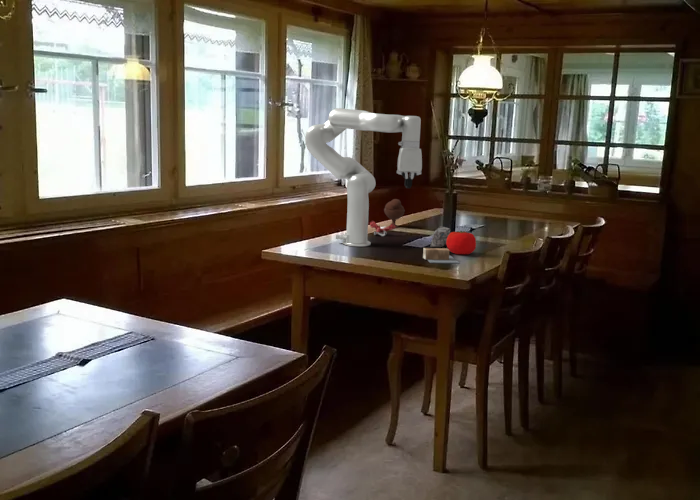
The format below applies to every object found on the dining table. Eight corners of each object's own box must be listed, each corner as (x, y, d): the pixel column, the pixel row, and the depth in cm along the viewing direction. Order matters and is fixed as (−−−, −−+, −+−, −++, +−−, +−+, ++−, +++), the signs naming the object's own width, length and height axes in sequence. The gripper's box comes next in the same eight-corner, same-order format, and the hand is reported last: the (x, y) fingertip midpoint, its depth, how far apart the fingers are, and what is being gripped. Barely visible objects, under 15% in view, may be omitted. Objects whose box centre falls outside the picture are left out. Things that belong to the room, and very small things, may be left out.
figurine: (360, 234, 356) (361, 221, 355) (372, 231, 366) (373, 218, 365) (388, 238, 348) (388, 224, 347) (399, 235, 358) (400, 222, 357)
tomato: (475, 257, 313) (476, 233, 311) (445, 255, 315) (446, 231, 313) (475, 252, 323) (477, 229, 321) (446, 250, 325) (447, 227, 323)
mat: (430, 263, 297) (430, 262, 297) (422, 255, 311) (422, 255, 311) (459, 263, 299) (459, 262, 299) (450, 256, 312) (450, 255, 312)
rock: (437, 248, 326) (441, 226, 326) (421, 245, 331) (425, 223, 330) (453, 250, 340) (456, 228, 339) (437, 247, 344) (440, 226, 343)
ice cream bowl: (407, 227, 384) (409, 198, 381) (397, 229, 375) (398, 200, 372) (389, 225, 389) (391, 196, 386) (379, 227, 380) (380, 198, 377)
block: (425, 249, 301) (449, 250, 302) (423, 247, 305) (447, 248, 306) (425, 259, 302) (448, 259, 303) (422, 257, 306) (446, 257, 307)
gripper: (394, 145, 310) (392, 188, 314) (429, 146, 312) (426, 189, 316) (391, 144, 318) (389, 186, 321) (425, 145, 320) (423, 187, 323)
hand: (408, 187), depth 319 cm, fingers closed
